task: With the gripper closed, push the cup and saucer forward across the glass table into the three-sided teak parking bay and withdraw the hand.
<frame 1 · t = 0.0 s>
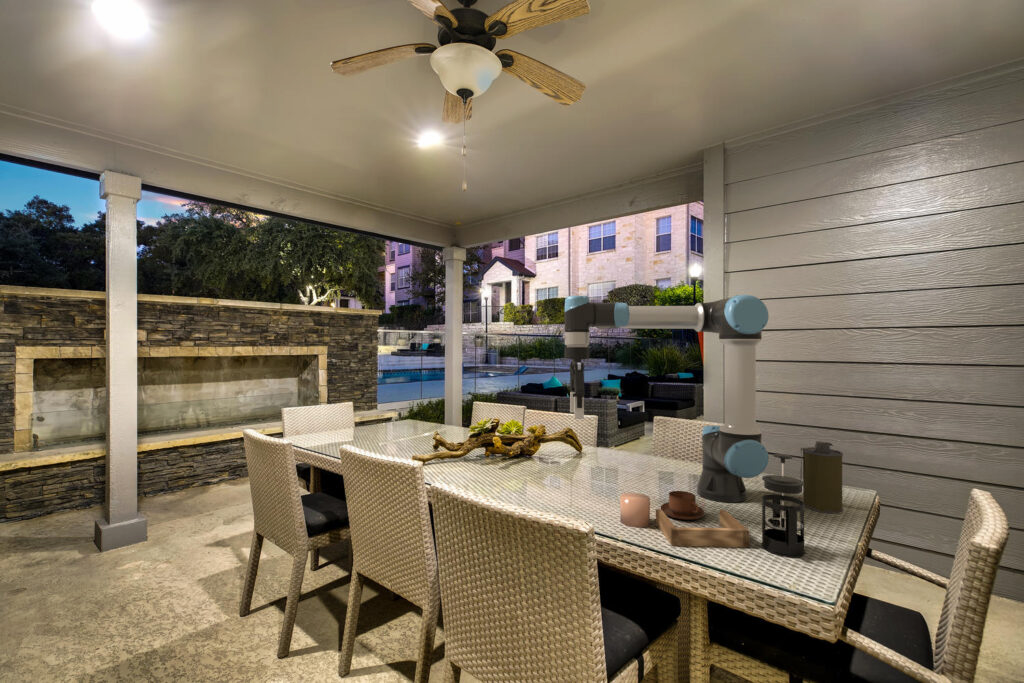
hand: (576, 415, 146), 28 cm above the table, tool pointing down, fingers open, 13 cm apart
canister: (821, 508, 146), on the table
peach rounded capsule: (635, 522, 133), on the table
french press: (783, 550, 115), on the table
parking bay: (699, 534, 125), on the table
cup and saucer: (682, 516, 139), on the table
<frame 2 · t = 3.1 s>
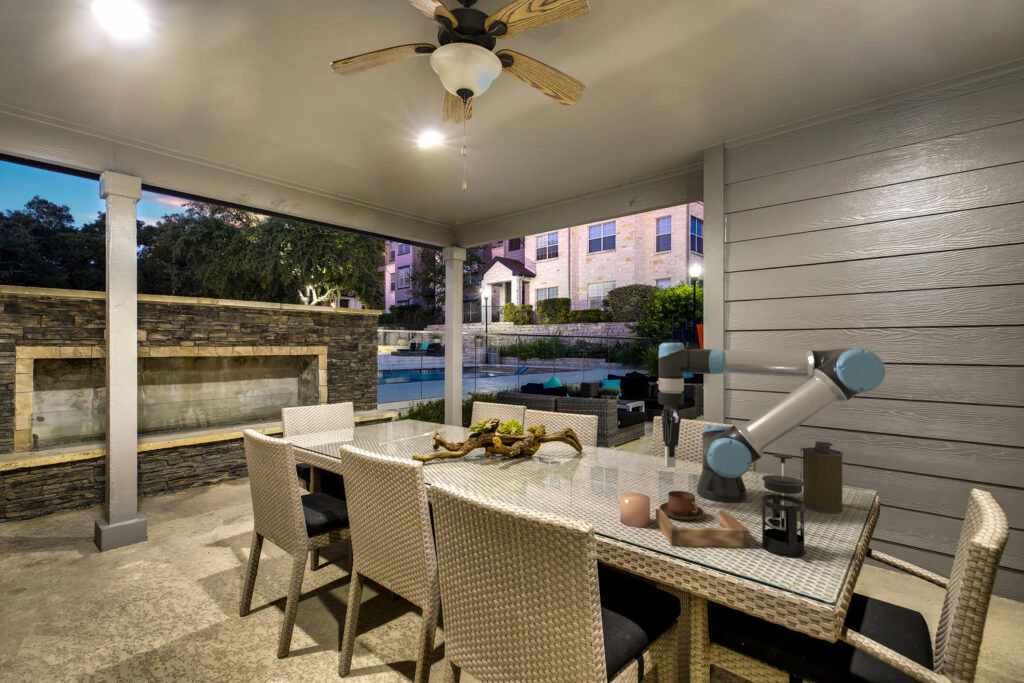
hand: (670, 466, 149), 11 cm above the table, tool pointing down, fingers closed
nothing on the table moved.
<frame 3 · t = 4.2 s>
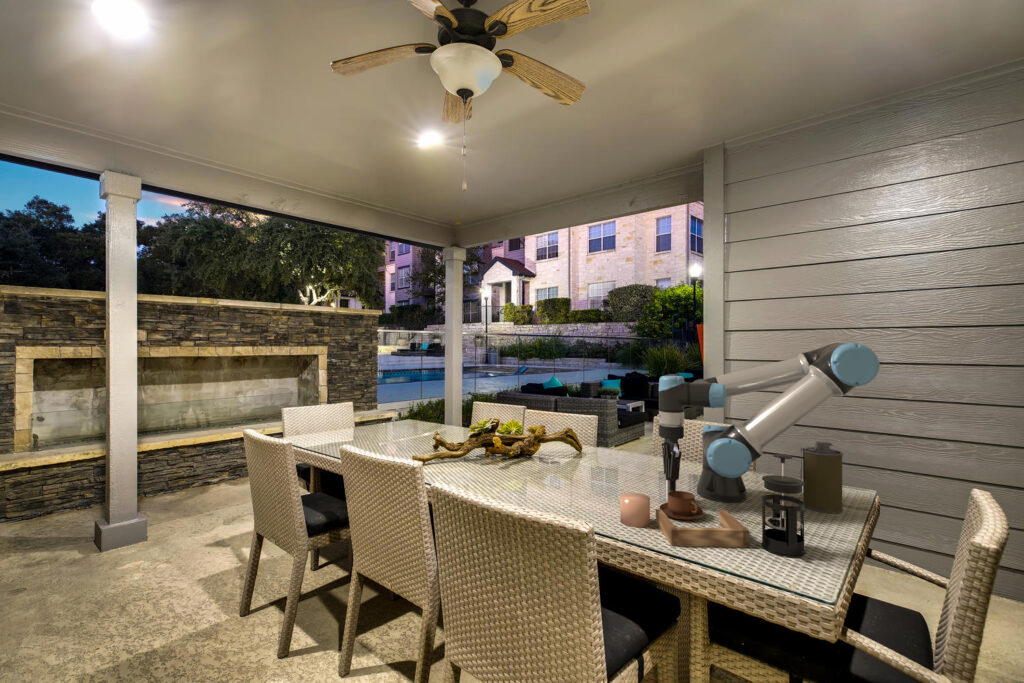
hand: (671, 499, 149), 1 cm above the table, tool pointing down, fingers closed
nothing on the table moved.
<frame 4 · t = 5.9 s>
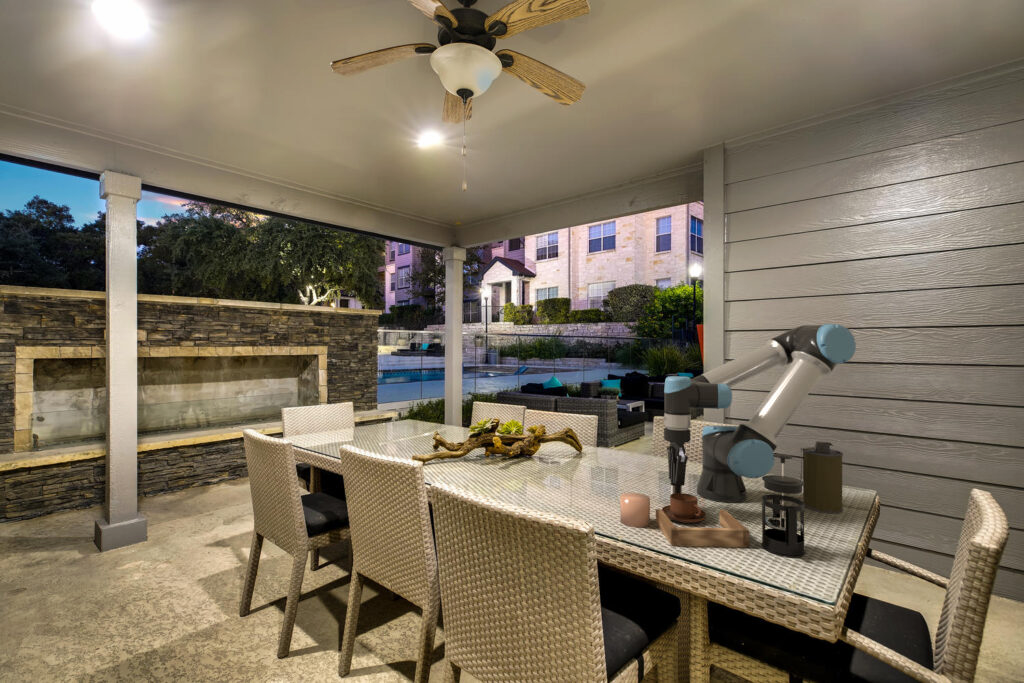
hand: (676, 506, 143), 1 cm above the table, tool pointing down, fingers closed
cup and saucer: (683, 519, 136), on the table
everything else where it was.
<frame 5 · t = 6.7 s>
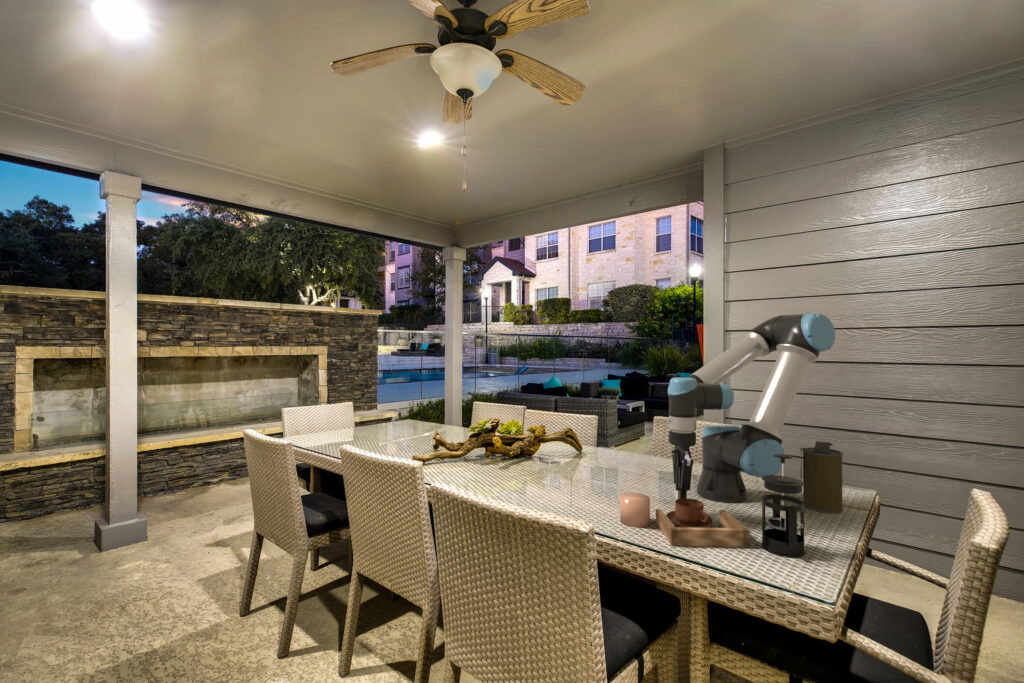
hand: (681, 511, 138), 1 cm above the table, tool pointing down, fingers closed
cup and saucer: (689, 525, 131), on the table, touching gripper
everything else where it was.
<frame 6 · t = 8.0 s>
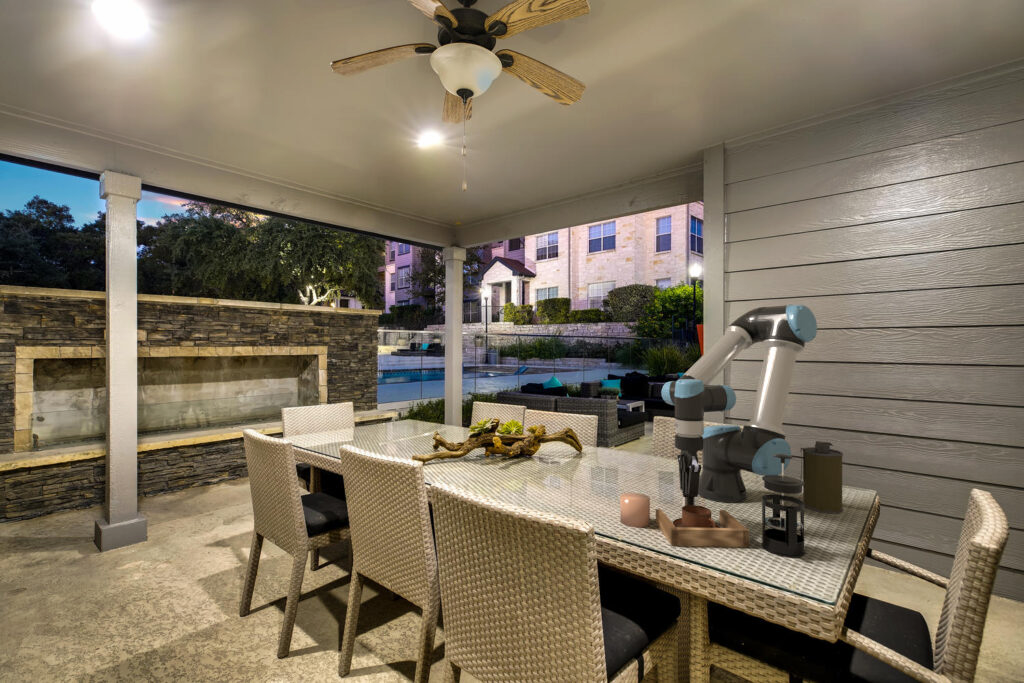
hand: (688, 519, 133), 1 cm above the table, tool pointing down, fingers closed
cup and saucer: (696, 533, 126), on the table, touching gripper
everything else where it was.
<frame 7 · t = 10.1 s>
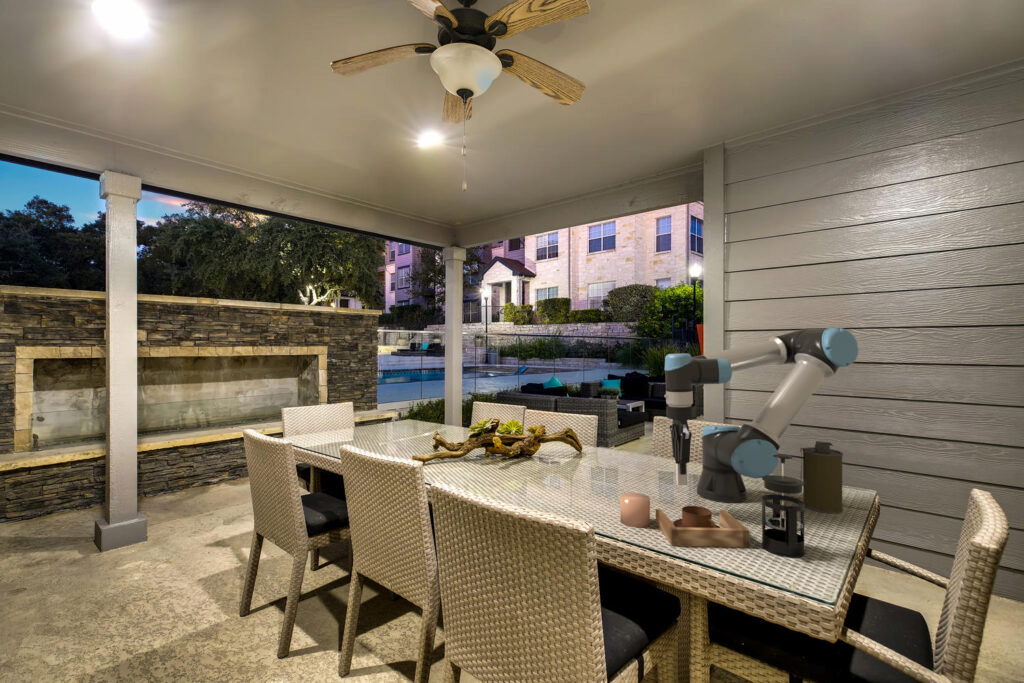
hand: (681, 484, 142), 8 cm above the table, tool pointing down, fingers closed
cup and saucer: (696, 534, 126), on the table
everything else where it was.
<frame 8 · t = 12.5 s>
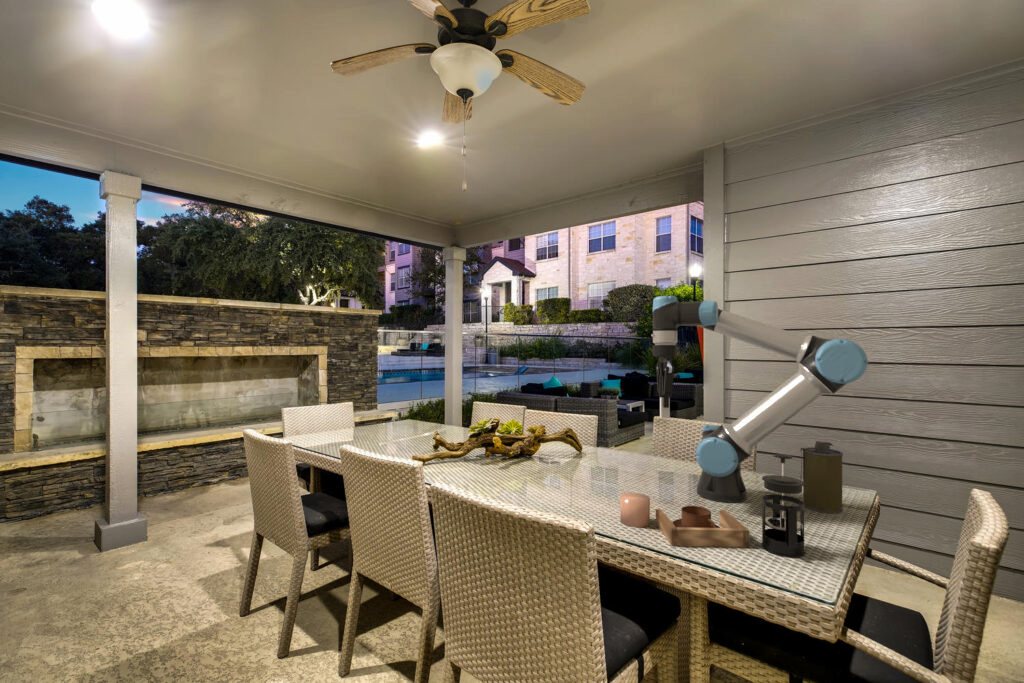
hand: (664, 417, 153), 26 cm above the table, tool pointing down, fingers closed
nothing on the table moved.
at the end: cup and saucer inside the target area (1.2 cm from its centre), on the table; cup and saucer tilted 0°; cup and saucer touching table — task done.
